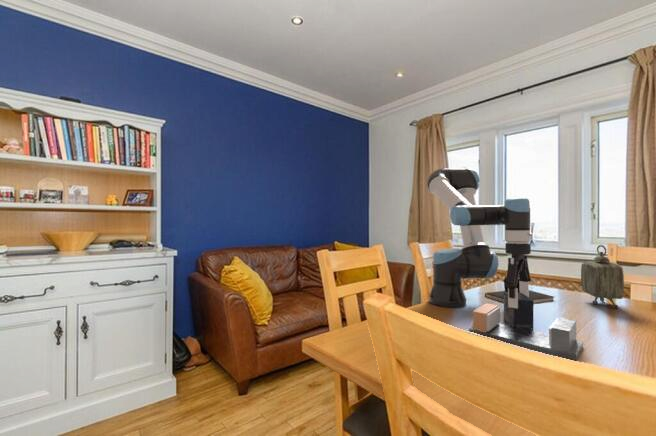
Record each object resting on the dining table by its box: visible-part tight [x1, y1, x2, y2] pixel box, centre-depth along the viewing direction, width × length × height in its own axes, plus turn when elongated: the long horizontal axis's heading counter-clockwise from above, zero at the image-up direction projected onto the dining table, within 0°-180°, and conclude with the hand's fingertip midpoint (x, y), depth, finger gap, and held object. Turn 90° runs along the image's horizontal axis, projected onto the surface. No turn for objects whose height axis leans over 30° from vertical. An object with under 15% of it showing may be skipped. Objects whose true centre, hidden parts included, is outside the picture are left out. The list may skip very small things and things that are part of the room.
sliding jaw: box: [472, 303, 501, 333], centre depth 105 cm, size 5×12×6 cm, turn 135°
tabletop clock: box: [580, 244, 625, 309], centre depth 132 cm, size 14×9×25 cm, turn 162°
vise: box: [468, 316, 584, 362], centre depth 98 cm, size 28×12×8 cm, turn 45°
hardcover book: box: [484, 289, 555, 303], centre depth 144 cm, size 16×23×2 cm
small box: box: [502, 292, 534, 331], centre depth 110 cm, size 11×6×10 cm, turn 168°
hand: (518, 303), depth 110 cm, fingers open, 13 cm apart
